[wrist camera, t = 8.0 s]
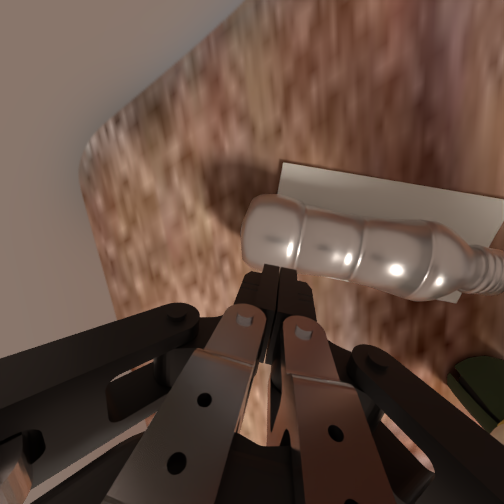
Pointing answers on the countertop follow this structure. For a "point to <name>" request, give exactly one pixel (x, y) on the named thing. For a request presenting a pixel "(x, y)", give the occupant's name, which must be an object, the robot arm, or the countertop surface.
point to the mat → (395, 202)
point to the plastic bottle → (368, 250)
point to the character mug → (482, 392)
